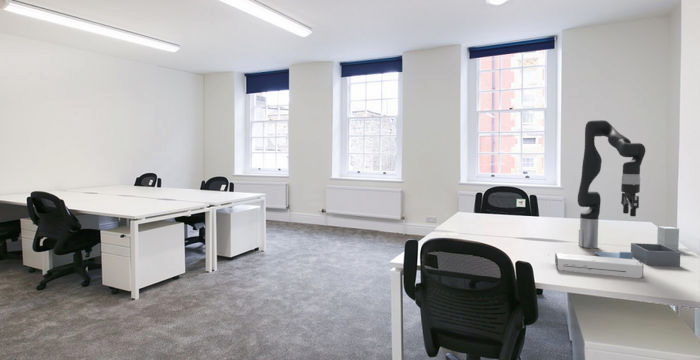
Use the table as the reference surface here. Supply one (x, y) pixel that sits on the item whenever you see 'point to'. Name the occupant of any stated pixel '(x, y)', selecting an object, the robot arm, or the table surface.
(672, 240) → the supplement box
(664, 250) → the parts tub
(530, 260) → the table surface
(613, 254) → the tub lid
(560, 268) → the laminator
